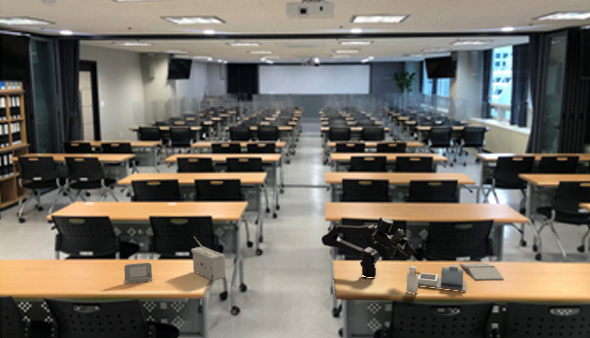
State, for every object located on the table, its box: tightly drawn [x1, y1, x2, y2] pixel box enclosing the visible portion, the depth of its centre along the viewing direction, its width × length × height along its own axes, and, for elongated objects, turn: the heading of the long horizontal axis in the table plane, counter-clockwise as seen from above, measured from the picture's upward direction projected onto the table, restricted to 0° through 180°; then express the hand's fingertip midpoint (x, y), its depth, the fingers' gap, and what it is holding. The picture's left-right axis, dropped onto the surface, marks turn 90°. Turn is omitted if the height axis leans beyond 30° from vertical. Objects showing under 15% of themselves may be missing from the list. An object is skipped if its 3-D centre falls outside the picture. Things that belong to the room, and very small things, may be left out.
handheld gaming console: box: [124, 262, 153, 285], centre depth 261 cm, size 13×9×10 cm
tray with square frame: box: [418, 263, 467, 293], centre depth 251 cm, size 24×13×10 cm, turn 70°
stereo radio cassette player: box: [191, 236, 226, 282], centre depth 266 cm, size 21×8×20 cm, turn 42°
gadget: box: [459, 262, 504, 281], centre depth 268 cm, size 23×15×4 cm, turn 1°
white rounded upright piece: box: [406, 265, 422, 293], centre depth 241 cm, size 7×5×12 cm
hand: (413, 255), depth 248 cm, fingers open, 9 cm apart
